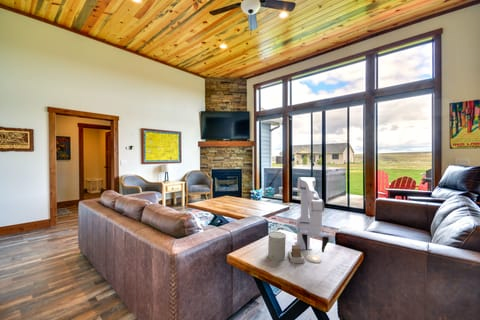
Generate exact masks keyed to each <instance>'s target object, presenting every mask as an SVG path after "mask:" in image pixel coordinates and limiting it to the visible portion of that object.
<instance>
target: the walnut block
mask: <svg viewBox="0 0 480 320" xmlns="http://www.w3.org/2000/svg"><path fill="white" fill-rule="evenodd" d="M291 252H292V257H301V253H302V249H301V248H300V246H299V245H296V244H291Z"/></svg>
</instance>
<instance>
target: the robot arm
mask: <svg viewBox="0 0 480 320" xmlns="http://www.w3.org/2000/svg"><path fill="white" fill-rule="evenodd" d="M316 184H317V182H316V177H314V176H312V177H309V176H308V177H305V176H304V177H302V176H301V177H300V176H298V177H297V190H299V191H300V216H299V217H297V218H296V219H295V231H296V232H297V233H296V241H295V245H299V246H300V248H301V250H306V251H308V250H309V251H311V250H313V248H312V247H311V246H310V244H311V243H310V242H311V237H315V238H322V239H321V253H324V252H325V248H326V247H327V244H328V243H329V241H330V240H331V239H332V234H331V232H324V231H322V226H323V225H322V223H323V222H322V221H323V212H324V210H325V202H324V200H323V199H322V198H320V196H319V192H317V191H316V190H315V188H316V187H317V186H316Z"/></svg>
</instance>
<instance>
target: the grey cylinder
mask: <svg viewBox="0 0 480 320" xmlns="http://www.w3.org/2000/svg"><path fill="white" fill-rule="evenodd" d="M286 237H287V236H286V233H284V232H281V231H271V232H269V233H268V247H267V249H268V250H267V251H268V252H267V257H268V258H269V259H270V260H273V261H277V262H278V261H283V260H285V259H286Z"/></svg>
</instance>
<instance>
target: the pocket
mask: <svg viewBox="0 0 480 320" xmlns="http://www.w3.org/2000/svg"><path fill="white" fill-rule="evenodd" d="M287 253H288V255H287V256H288V258H289V262H290V263H296V264H297V263H298V264H304V263H305V256H304V255H303V253H302V252H301V257H292V250H291V251H288V252H287Z"/></svg>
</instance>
